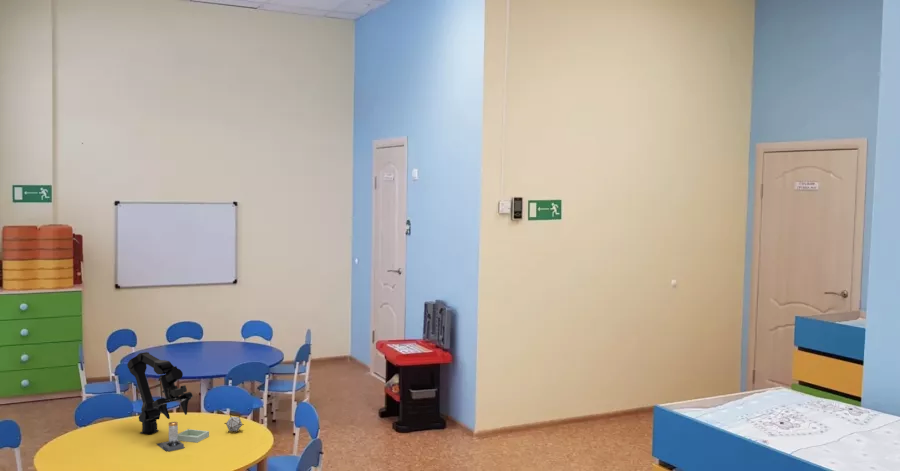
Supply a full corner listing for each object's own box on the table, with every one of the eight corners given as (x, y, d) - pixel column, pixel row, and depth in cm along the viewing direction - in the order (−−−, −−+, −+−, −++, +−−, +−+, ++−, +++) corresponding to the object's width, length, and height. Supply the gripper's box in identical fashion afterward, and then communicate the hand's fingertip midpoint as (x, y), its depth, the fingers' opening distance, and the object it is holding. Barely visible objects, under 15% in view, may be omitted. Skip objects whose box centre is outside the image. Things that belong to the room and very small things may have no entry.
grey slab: (155, 445, 364) (155, 439, 364) (174, 442, 370) (174, 436, 370) (166, 454, 353) (166, 447, 353) (185, 450, 359) (185, 443, 359)
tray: (175, 442, 370) (175, 435, 370) (188, 435, 380) (188, 429, 379) (197, 444, 367) (197, 437, 367) (209, 438, 376) (209, 431, 376)
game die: (237, 437, 389) (249, 421, 391) (231, 437, 381) (244, 420, 383) (224, 427, 391) (236, 411, 393) (218, 426, 383) (230, 409, 385)
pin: (167, 448, 357) (166, 423, 357) (172, 446, 361) (172, 421, 361) (174, 449, 356) (174, 424, 356) (179, 447, 360) (179, 422, 359)
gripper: (159, 384, 360) (168, 416, 356) (193, 377, 375) (202, 407, 371) (148, 392, 366) (156, 423, 363) (182, 384, 381) (191, 414, 377)
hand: (177, 416), depth 368 cm, fingers open, 9 cm apart
